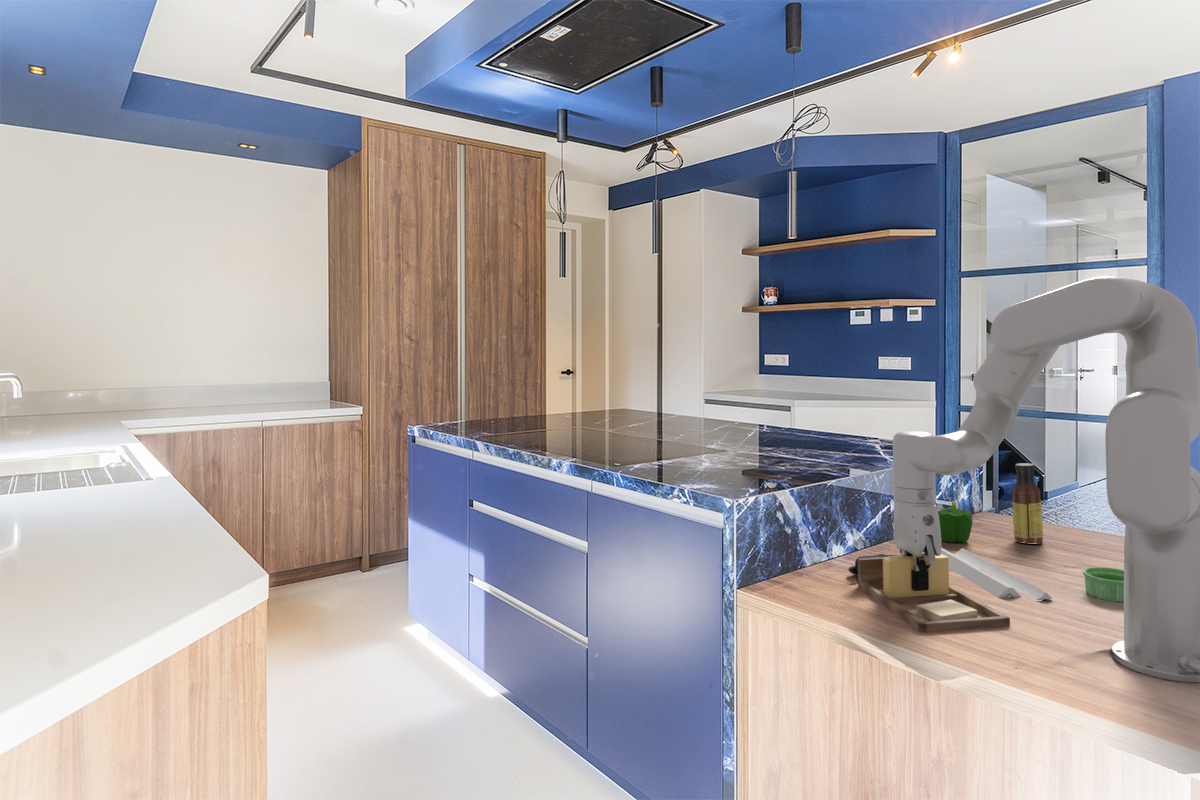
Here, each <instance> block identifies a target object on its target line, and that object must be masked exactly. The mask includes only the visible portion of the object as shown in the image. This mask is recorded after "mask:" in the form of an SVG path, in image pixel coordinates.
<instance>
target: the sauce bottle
mask: <svg viewBox="0 0 1200 800" xmlns="http://www.w3.org/2000/svg"><path fill="white" fill-rule="evenodd" d="M1014 467H1015V470H1016V482H1015V484H1014V485H1013V487H1012V489H1011V495H1012V499H1011V503H1012V504H1011V505H1012V519H1013V520H1012V521H1013V535H1014V540H1015V541H1016V540H1017V541H1019V542H1025V543H1041V542H1042V543H1043V541H1044V540H1043V539H1044V531H1043V529H1044V526H1043V525H1044V524H1043V509H1042V508H1043V507H1042V499H1041V489H1040V488H1039V487H1038V485H1037V483H1036V481H1035V476H1034V475H1035V469H1036V468H1035V464H1034V463H1028V462H1025V463H1024V462H1023V463H1022V462H1020V463H1015V465H1014ZM1017 541H1016V542H1017ZM1019 542H1018V543H1019ZM1042 543H1041V544H1042Z"/></svg>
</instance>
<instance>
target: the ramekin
mask: <svg viewBox="0 0 1200 800" xmlns="http://www.w3.org/2000/svg"><path fill="white" fill-rule="evenodd" d="M1082 572H1083V576H1084V585H1085V591H1086V593H1087V594H1088V595H1089V594H1090V595H1089V596H1091V597H1093V596H1094V597H1093V598H1096V597H1097V598H1096V599H1099V598H1100V600H1102V599H1104V600H1103V601H1107V600H1108V602H1115V603H1124V569H1120V568H1116V567H1107V566H1106V567H1104V566H1103V567H1102V566H1092V567H1086V568H1084V569H1083V571H1082Z"/></svg>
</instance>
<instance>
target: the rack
mask: <svg viewBox="0 0 1200 800" xmlns="http://www.w3.org/2000/svg"><path fill="white" fill-rule="evenodd" d="M888 557H902V556H888ZM888 557H872V558H858V557H857V558H858V576H857V580H858V581H857V585H858V588H859V589H861V590H862V591H863V592H865V593H866V594H868V595H869V596H871V597H872V599H875V600H876V601H877V602H878V603H880V604H881V605H883V606H884V607H886V608H887V609H888V610H890V612H892V613H894V614H895V615H896V616H898V617H899V618H901V620H904V621H905V622H906V623H907V624H908V625H910V626H912V627H913V628H914V629H916V630H917V631H918V632H920V633H935V632H947V631H948V632H949V631H961V630H977V629H989V628H990V629H991V628H1001V627H1002V628H1004V627H1010V626H1011V620H1010V619H1011V618H1010V617H1009V616H1007V615H1006V614H1004V613H1002V612H1000V611H998V610H996V609H995V608H993V607H991V606H989V605H988V604H985V603H984V602H982V601H980V600H979V599H977V598H975V597H973V596H971V595H969V594H968V593H966V592H964V591H962V590H960V589H958V588H957V587H955V586H953V585H951V584H950V583H949V594H943V595H929V596H914V597H900V598H889V597H887V596H886V595H885V594H884V591H883V589H877V588H883V558H888ZM945 600H954V601H956V602H957V601H960V603H962V604H964V605H966V606H969V607H971V608H974V609H976V610H977V612H978V613H980V614H982V615H984V616H983V617H978V618H968V619H954V620H940V621H931V620H929V621H922V620H921V619H919V618H918V617H917V616H915V615H914V614H912V613H911V612H909V611H908V610H909V609H908V610H907V609H906V608H905V607H903V606H902V605H909V604H911V605H913V604H927V603H933V602H939V601H945Z"/></svg>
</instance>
